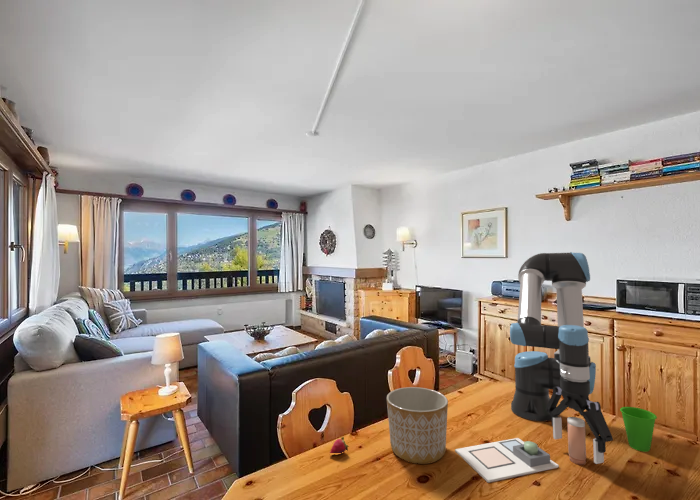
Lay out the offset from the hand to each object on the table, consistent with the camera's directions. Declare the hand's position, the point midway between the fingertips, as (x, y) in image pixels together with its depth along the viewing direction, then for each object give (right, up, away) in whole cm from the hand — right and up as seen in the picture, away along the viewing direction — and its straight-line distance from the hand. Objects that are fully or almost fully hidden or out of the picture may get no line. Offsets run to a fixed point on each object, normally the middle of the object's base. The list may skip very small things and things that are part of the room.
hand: (577, 449), depth 102 cm
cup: (+24, -3, +7) cm, 25 cm away
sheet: (-21, -4, +1) cm, 21 cm away
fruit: (-72, -5, +5) cm, 72 cm away
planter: (-46, -4, +7) cm, 47 cm away
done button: (-14, -1, 0) cm, 14 cm away
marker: (0, -3, 0) cm, 3 cm away
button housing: (-14, -4, 0) cm, 14 cm away
